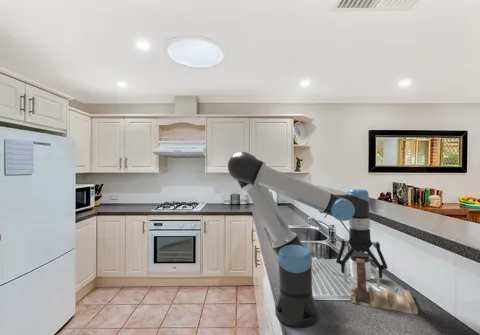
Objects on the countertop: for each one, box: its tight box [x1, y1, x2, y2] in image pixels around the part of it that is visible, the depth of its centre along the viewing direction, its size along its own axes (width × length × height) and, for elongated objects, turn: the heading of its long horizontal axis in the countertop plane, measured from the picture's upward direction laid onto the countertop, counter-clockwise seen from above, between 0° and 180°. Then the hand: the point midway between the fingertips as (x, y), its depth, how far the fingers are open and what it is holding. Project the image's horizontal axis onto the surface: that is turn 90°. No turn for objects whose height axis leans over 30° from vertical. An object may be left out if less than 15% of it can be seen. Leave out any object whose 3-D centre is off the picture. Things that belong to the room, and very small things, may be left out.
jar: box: [349, 251, 372, 281], centre depth 117 cm, size 9×8×12 cm
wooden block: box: [356, 258, 367, 302], centre depth 99 cm, size 3×10×13 cm, turn 156°
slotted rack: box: [350, 281, 419, 315], centre depth 96 cm, size 21×14×4 cm, turn 66°
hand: (361, 283), depth 99 cm, fingers open, 11 cm apart
